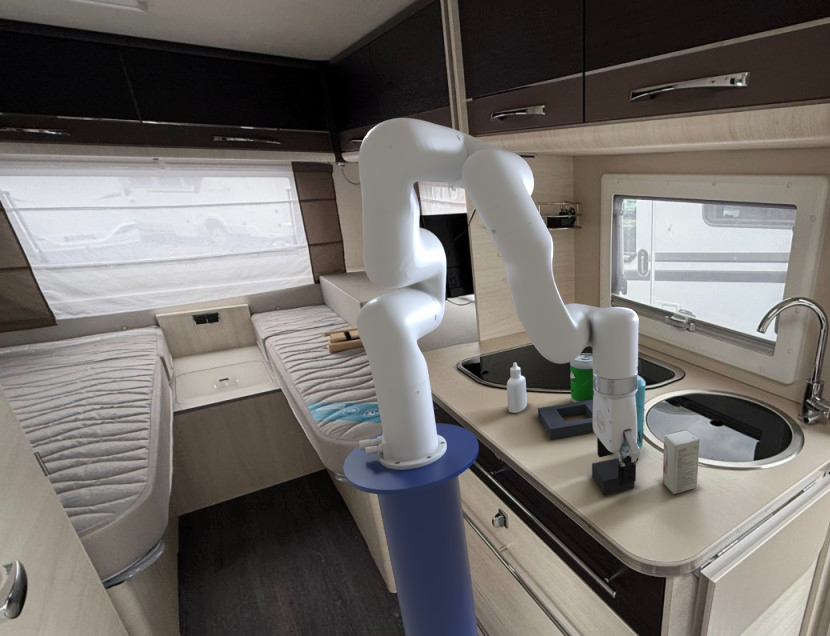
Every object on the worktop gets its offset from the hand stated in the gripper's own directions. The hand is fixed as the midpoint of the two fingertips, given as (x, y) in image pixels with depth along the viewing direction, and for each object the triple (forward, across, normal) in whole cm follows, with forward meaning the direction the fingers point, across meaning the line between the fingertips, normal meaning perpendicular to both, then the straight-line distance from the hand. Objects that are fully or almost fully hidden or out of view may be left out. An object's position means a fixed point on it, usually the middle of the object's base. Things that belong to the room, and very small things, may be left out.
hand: (615, 468), depth 85 cm
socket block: (+3, -25, 0) cm, 25 cm away
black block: (+3, 0, 0) cm, 3 cm away
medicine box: (+4, +5, +10) cm, 12 cm away
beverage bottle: (+3, -9, +6) cm, 12 cm away
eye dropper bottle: (+3, -37, -10) cm, 39 cm away
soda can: (+3, -35, +6) cm, 36 cm away
